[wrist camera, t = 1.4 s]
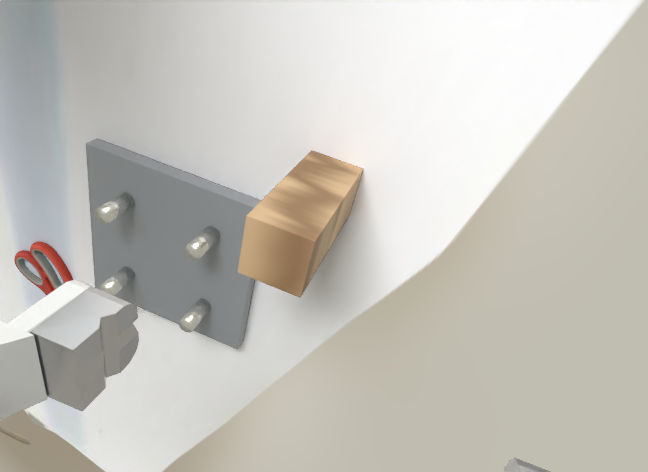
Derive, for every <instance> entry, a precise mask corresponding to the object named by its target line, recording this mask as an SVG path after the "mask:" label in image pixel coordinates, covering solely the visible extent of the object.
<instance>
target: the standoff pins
mask: <svg viewBox="0 0 648 472" xmlns="http://www.w3.org/2000/svg"><path fill="white" fill-rule="evenodd" d="M134 205H135V201H134V199H133V197H132V196H131V195H130V194H128V193H122V194H120V195H118V196H117V197H115V198H114V199H112V200H110V201H109V202H107V203H105V204H104V205H102V206H100V207H99V208H97V209H96V210H95V216H96V218H97V220H98V221H99V222H101V223H103V224H108V223H109V222H111V221H112V220H114V219H115V218H117V217H118V216H120V215H121V214H123V213H124V212H126V211H127V210H129V209H130V208H132V207H133V206H134ZM219 239H220V233H219V231H218V230H217V229H216V228H215V227H212V226H208V227H206V228H205V229H204V230H203V231H202V232H201V233H200V234H199V235H198V236H196V237H195V238H194V239H193V240H192V241H191V242H190V243H189V244H187V245H186V246H185V248H184V252H185V254H186V256H187V257H188V258H189V259H191V260H198V259H200V258H201V257H202V256H203V255H204V254H205V253H206V252H207V251H208V250H209V249H210V248H211V247H212V246H213V245H214V244H215V243H216V242H217V241H218V240H219ZM134 277H135V273H134V271H133V270H132V269H131V268H129V267H127V266H124V267H123V268H121V269H120V270H119V271H118V272H116V273H115V274H114V275H113V276H111V277H110V278H109V279H108V280H106V281H105V282H104V283H103V284H102V285H100V286H99V290H101V291H104V292H106V293H108V294H110V295H115V294H116V293H117V292H118V291H119V290H120V289H122V288H123V287H124V286H125V285H126V284H127V283H129V282H130V281H131V280H132V279H133V278H134ZM210 309H211V304H210V302H209V301H208V300H206V299H203V298H201V299H199V300H198V301H197V302H196V303H195V304H194V305H193V307H192V308H191V309H190V310H189V311H188V312H187V313H186V314H185V315H184V317H183V318H182V319H181V320H180V321H179V326H180V328H181V329H182V330H184V331H185V332H192V331H193V330H194V329H195V327H196V326H197V325H198V324H199V323H200V321H201V320H202V319H203V318H204V317H205V315H206V314H207V313H208V312H209V311H210Z"/></svg>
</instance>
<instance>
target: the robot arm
mask: <svg viewBox="0 0 648 472" xmlns="http://www.w3.org/2000/svg"><path fill="white" fill-rule="evenodd" d="M137 318H138V316H137V306H135V305H133V304H131V303H129V302H126V301H124V300H122V299H120V298H117V297H115V296H113V295H110V294H108V293H106V292H104V291H101V290H99V289H97V288H94V287H92V286H89V285H87V284H85V283H82V282H80V281H78V280H72V281H68V282H66V283H64V284H63V285H61V286H60V287H58V288H57V289H55V290H54V291H53V292H51V293H50V294H48V295H47V296H45V297H44V298H42V299H41V300H40V301H38V302H37V303H35V304H34V305H32V306H31V307H29V308H28V309H27V310H25V311H24V312H22V313H21V314H19V315H18V316H16V317H15V318H14V319H12V320H11V321H9V322H8V323H6V322H4V321H0V420H2V419H4V418H7V417H9V416H11V415H13V414H15V413H18V412H20V411H22V410H24V409H26V408H29V407H31V406H33V405H35V404H37V403H40V402H42V401H44V400H46V399H47V396H48V397H50V398H52V399H55V400H57V401H59V402H62V403H64V404H66V405H69V406H71V407H73V408H76V409H78V410H80V411H83V410H84V409H85V408H86V407H87V406H88V405H89V404H90V403H91V402H92V401H93V400H94V399H95V398H96V397H97V396H98V395H99V394H100V393H101V392H102V391H103V390H104V389H105V388H106V379H107V377H109V376H112V375H115V374H118V373H120V372H121V371H122V370H123V369H124V368H125V367H126V366H127V365H128V364H129V362H130V361H131V359H132V357H133V355H134V354H135V352H136V349H137V345H138V341H139V337H138V331H137V330H136V328H135V327H134V325H133V322H134V321H135V320H136V319H137ZM504 472H550V471H547V470H545V469H542V468H540V467H537V466H534V465H532V464H529V463H527V462H524V461H522V460H519V459H516V458H513V459H511V460H509V462H508V463H507V465H506V466H505V468H504Z"/></svg>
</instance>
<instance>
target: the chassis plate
mask: <svg viewBox="0 0 648 472" xmlns="http://www.w3.org/2000/svg"><path fill="white" fill-rule="evenodd" d="M86 151H87V167H88V182H89V198H90V213H91V229H92V244H93V260H94V275H95V288H97V289H99V286H100V285H102V284H103V283H104V282H105V281H106V280H108V279H109V278H110V277H111V276H113V275H114V274H115V273H116V272H118V271H119V270H120V269H121V268H123V267H124V266H127V267H129V268H131V269H132V270H133V271H134V273H135V277H134V278H133V279H132V280H131V281H130V282H129V283H127V284H126V285H125V286H124V287H123V288H122V289H120V290H119V291H118V292H117V293H116V294H115V295H113V296H115V297H117V298H120V299H122V300H124V301H127V302H129V303H131V304H134V305H136V306H138V307H141V308H143V309H145V310H148V311H150V312H152V313H155V314H157V315H159V316H161V317H164V318H166V319H168V320H171V321H173V322H175V323H178V324H179V321H180V320H181V319H182V318H183V317H184V315H185V314H186V313H187V312H188V311H189V310H190V309H191V308H192V307H193V305H194V304H195V303H196V302H197V301H198V300H199V299H201V298H203V299H206V300H208V301H209V302H210V304H211V309H210V311H209V312H208V313H207V314H206V315H205V317H204V318H203V319H202V320H201V321H200V323H199V324H198V325H197V326H196V327H195V329H194V331H196V332H199V333H201V334H203V335H206V336H208V337H210V338H212V339H215V340H217V341H219V342H222V343H224V344H226V345H229V346H231V347H233V348H236V349H238V347H239V346H240V344H241V343H242V342H243V340H244V335H245V329H246V324H247V319H248V313H249V308H250V303H251V297H252V292H253V286H254V281H255V279H253V278H251V277H248V276H246V275H243V274H241V273H238V266H239V260H240V253H241V247H242V241H243V234H244V228H245V222H246V216H247V215H248V214H249V213H250V212H251V211H252V210H253V209H254V208H255V207H256V206H257V205H258V204H259V203H260V202H261V200H258V199H256V198H253V197H250V196H248V195H245V194H242V193H240V192H237V191H235V190H232V189H229V188H227V187H224V186H221V185H219V184H216V183H213V182H211V181H208V180H205V179H203V178H200V177H197V176H195V175H192V174H190V173H187V172H184V171H182V170H179V169H176V168H174V167H171V166H168V165H166V164H163V163H160V162H158V161H155V160H152V159H150V158H147V157H145V156H142V155H139V154H137V153H134V152H131V151H129V150H126V149H123V148H121V147H118V146H115V145H113V144H110V143H107V142H105V141H102V140H100V139H96V140H93V141H91V142H89V143H86ZM122 193H128V194H130V195H131V196H132V197H133V199H134V201H135V205H134V206H133V207H132V208H130V209H129V210H127V211H126V212H124V213H123V214H121V215H120V216H118V217H117V218H115V219H114V220H112V221H111V222H109V223H108V224H103V223H101V222H99V221H98V220H97V218H96V216H95V210H96V209H97V208H99V207H100V206H102V205H104V204H105V203H107V202H109V201H110V200H112V199H114V198H115V197H117V196H118V195H120V194H122ZM208 226H212V227H215V228H216V229H217V230H218V231H219V233H220V239H219V240H218V241H217V242H216V243H215V244H214V245H213V246H212V247H211V248H210V249H209V250H208V251H207V252H206V253H205V254H204V255H203V256H202V257H201V258H200V259H198V260H191V259H189V258H188V257H187V256H186V254H185V252H184V248H185V246H186V245H187V244H189V243H190V242H191V241H192V240H193V239H194V238H195V237H196V236H198V235H199V234H200V233H201V232H202V231H203V230H204V229H205V228H206V227H208Z"/></svg>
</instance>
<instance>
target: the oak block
mask: <svg viewBox="0 0 648 472" xmlns="http://www.w3.org/2000/svg"><path fill="white" fill-rule="evenodd" d="M362 172H363V168H360V167H357V166H354V165H351V164H348V163H346V162H343V161H340V160H337V159H334V158H332V157H329V156H326V155H323V154H320V153H317V152H315V151H311V152H310V153H309V154H308V155H307V156H306V157H305V158H304V159H303V160H302V161H301V162H300V163H299V164H298V165H297V166H296V167H295V168H294V169H293V170H292V171H291V172H290V173H289V174H288V175H287V176H286V177H285V178H284V179H283V180H282V181H281V182H280V183H279V184H278V185H277V186H276V187H275V188H274V189H273V190H272V191H271V192H270V193H269V194H268V195H267V196H266V197H265V198H264V199H263V200H262V201H261V202H260V203H259V204H258V205H257V206H256V207H255V208H254V209H253V210H252V211H251V212H250V213H249V214H248V215H247V216H246V222H245V228H244V234H243V241H242V247H241V253H240V260H239V266H238V273H241V274H243V275H246V276H248V277H251V278H253V279H256V280H258V281H261V282H263V283H265V284H268V285H270V286H273V287H275V288H278V289H280V290H283V291H285V292H288V293H290V294H293V295H295V296H298V297H301V295H302V294H303V292H304V290H305V289H306V287H307V285H308V284H309V282H310V280H311V279H312V277H313V275H314V274H315V272H316V270H317V269H318V267H319V265H320V264H321V262H322V260H323V258H324V257H325V255H326V253H327V252H328V250H329V248H330V247H331V245H332V243H333V242H334V240H335V238H336V237H337V235H338V233H339V232H340V230H341V228H342V227H343V225H344V223H345V222H346V220H347V218H348V216H349V214H350V211H351V208H352V204H353V201H354V198H355V195H356V191H357V188H358V185H359V181H360V178H361V175H362Z"/></svg>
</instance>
